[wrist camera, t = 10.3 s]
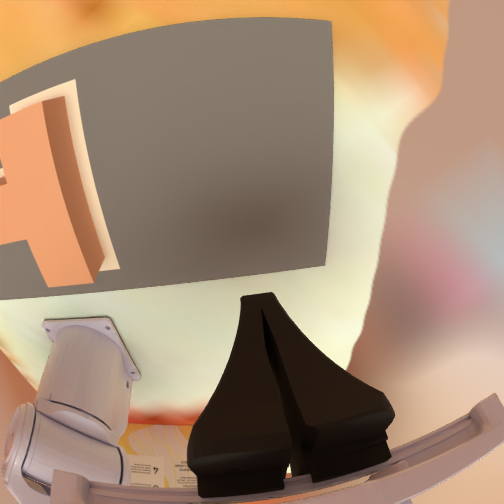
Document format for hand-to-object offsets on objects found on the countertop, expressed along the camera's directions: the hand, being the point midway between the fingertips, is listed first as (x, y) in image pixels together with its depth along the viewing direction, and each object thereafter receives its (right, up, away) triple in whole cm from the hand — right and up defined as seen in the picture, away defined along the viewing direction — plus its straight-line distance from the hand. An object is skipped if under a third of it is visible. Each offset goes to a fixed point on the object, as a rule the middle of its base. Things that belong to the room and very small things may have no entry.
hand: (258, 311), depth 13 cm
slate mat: (-10, +7, +5) cm, 14 cm away
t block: (-17, +6, +4) cm, 19 cm away
